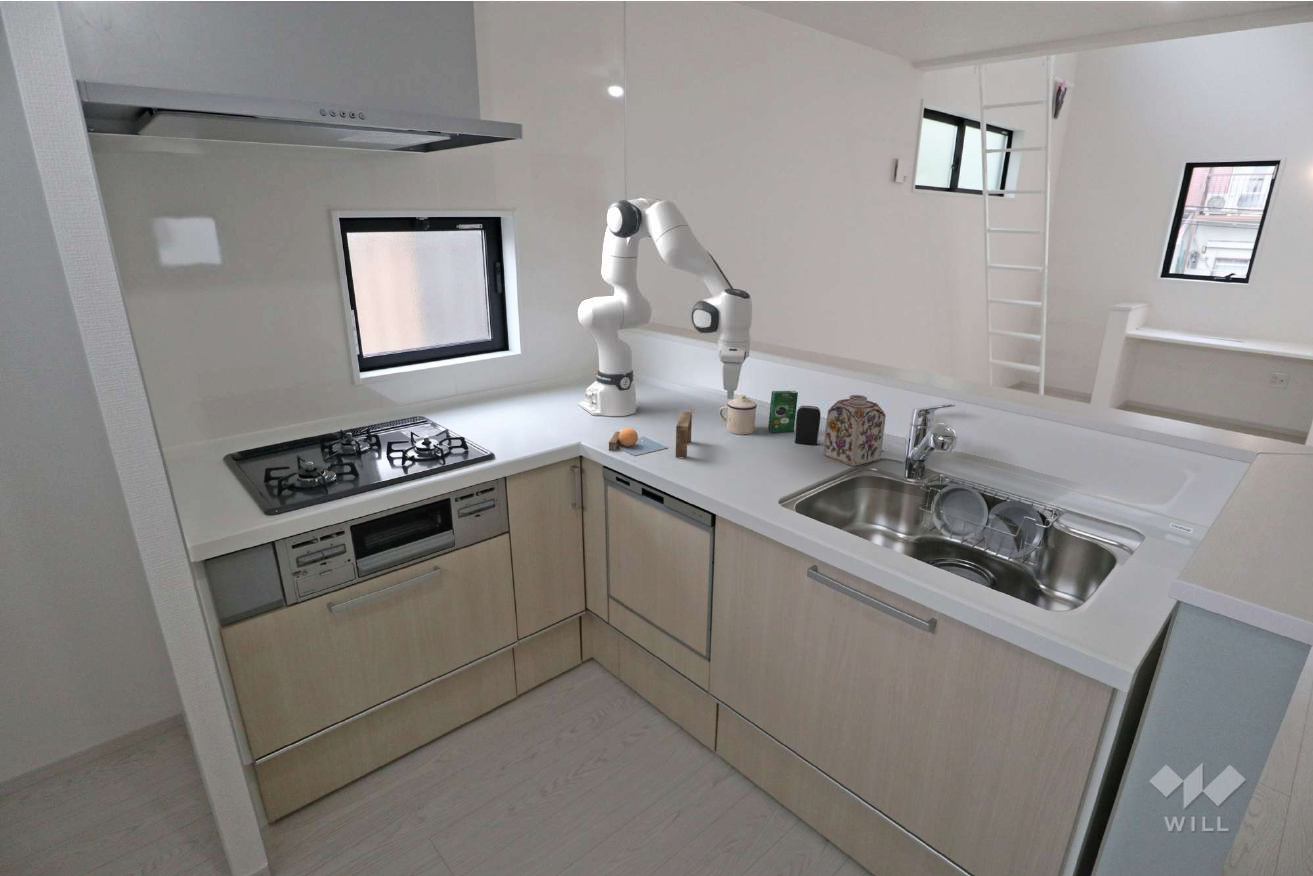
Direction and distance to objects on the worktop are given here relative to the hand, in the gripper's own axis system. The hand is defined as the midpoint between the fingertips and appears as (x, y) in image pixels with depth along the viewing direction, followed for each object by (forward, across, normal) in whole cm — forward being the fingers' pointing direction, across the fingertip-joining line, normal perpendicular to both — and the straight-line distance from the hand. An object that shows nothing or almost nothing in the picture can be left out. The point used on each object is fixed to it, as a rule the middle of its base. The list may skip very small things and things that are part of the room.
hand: (730, 397), depth 191 cm
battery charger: (+16, -11, +23) cm, 30 cm away
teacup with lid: (+16, -20, +2) cm, 26 cm away
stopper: (+16, +2, -33) cm, 36 cm away
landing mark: (+16, +2, -26) cm, 30 cm away
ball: (+13, +2, -29) cm, 32 cm away
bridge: (+16, +1, -13) cm, 20 cm away
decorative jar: (+16, -1, +35) cm, 39 cm away
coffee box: (+16, -21, +16) cm, 31 cm away
